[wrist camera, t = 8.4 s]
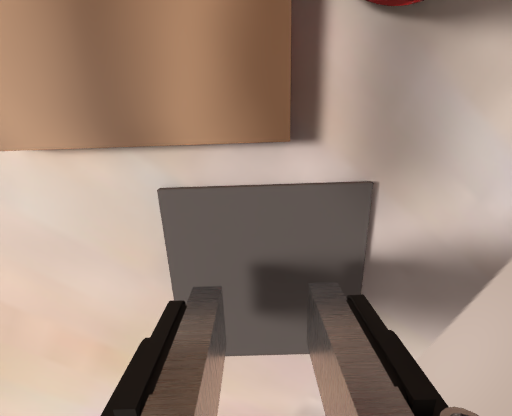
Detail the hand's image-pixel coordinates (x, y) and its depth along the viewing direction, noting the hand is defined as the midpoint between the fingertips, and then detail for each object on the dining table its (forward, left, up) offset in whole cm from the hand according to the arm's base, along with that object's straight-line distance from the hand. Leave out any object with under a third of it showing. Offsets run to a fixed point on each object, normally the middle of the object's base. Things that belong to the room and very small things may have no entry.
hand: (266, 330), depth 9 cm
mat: (0, 0, -4) cm, 4 cm away
